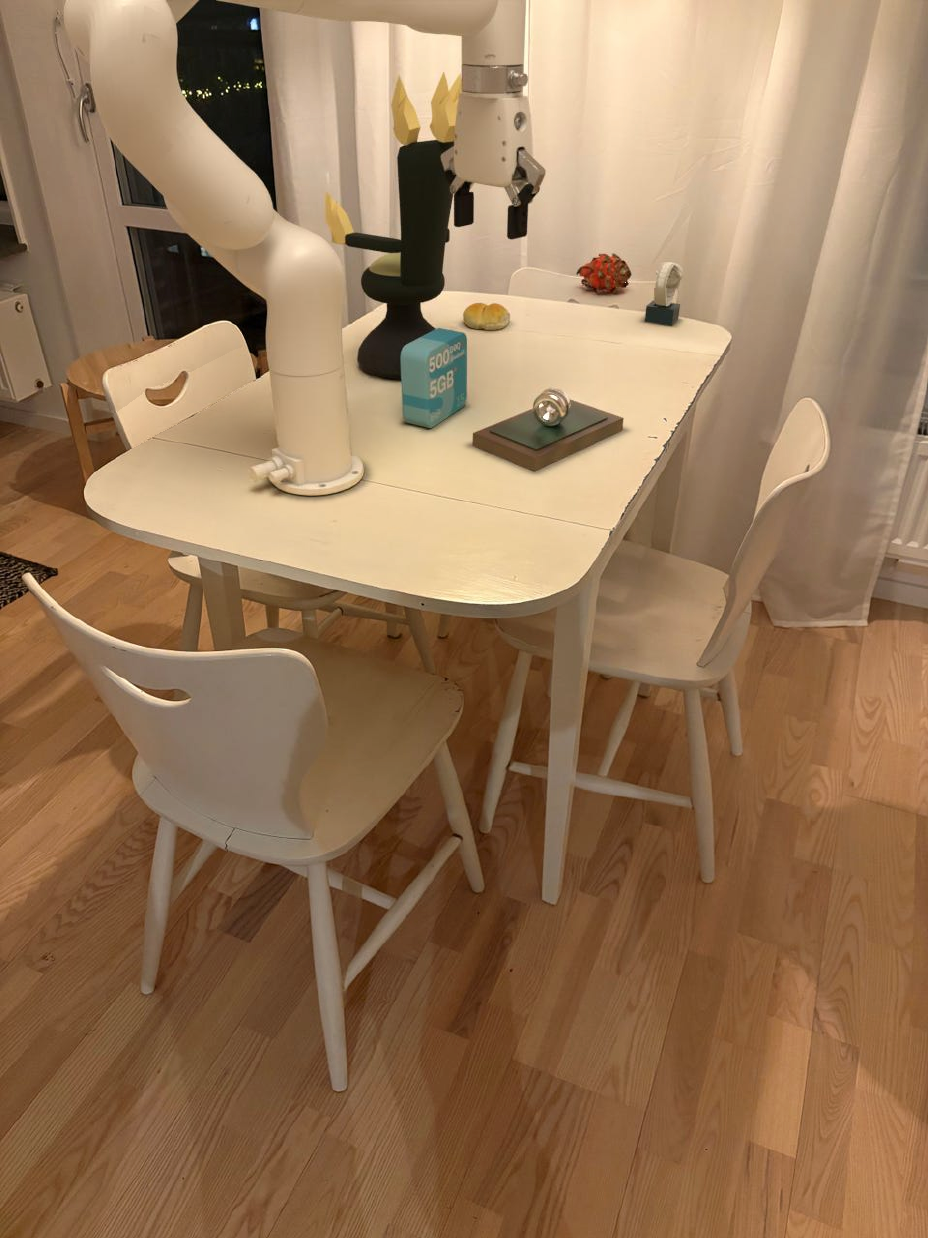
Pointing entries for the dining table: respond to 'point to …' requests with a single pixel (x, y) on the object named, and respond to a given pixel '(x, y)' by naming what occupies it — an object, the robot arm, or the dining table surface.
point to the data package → (434, 377)
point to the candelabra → (407, 232)
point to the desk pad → (546, 435)
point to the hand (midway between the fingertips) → (489, 231)
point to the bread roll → (486, 316)
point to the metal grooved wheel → (544, 410)
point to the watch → (665, 295)
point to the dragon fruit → (605, 273)
